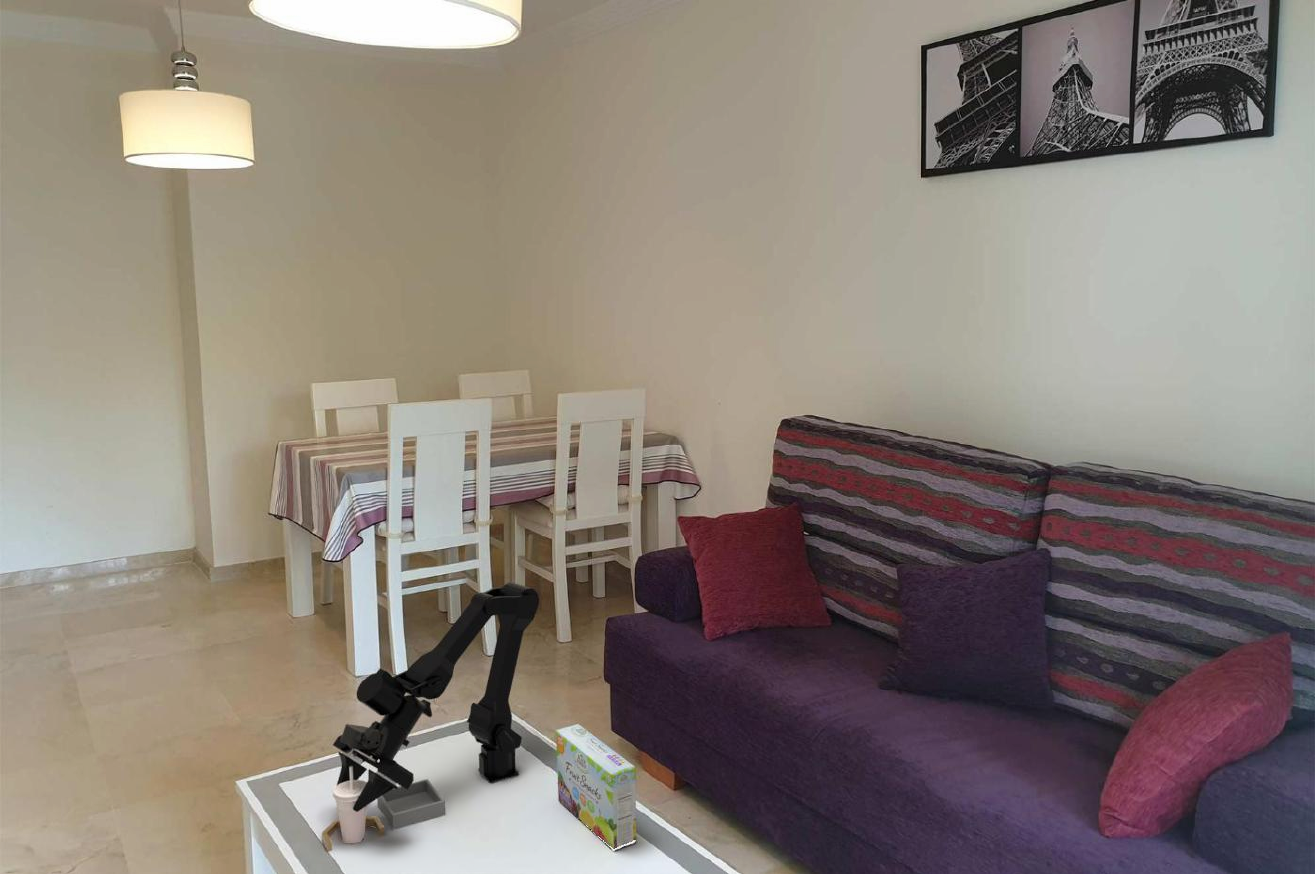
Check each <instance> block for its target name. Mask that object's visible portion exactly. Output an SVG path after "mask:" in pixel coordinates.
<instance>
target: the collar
mask: <svg viewBox="0 0 1315 874" xmlns="http://www.w3.org/2000/svg"><path fill="white" fill-rule="evenodd" d="M365 827H373V828H375V830H376V831H377V833H378V834H379V836H380V837H383V836H385V835H386V834H385V833H386V832H385V830H386V829H385V826H384V825H383V822H382V821H381V820H380V818H379V817H376V816H372V815H371V816H369V815H366V822H365ZM338 830H341V826H340V821H339V819H336V820H334V821H332V822H331V824H329V825H328V826H327V827H326V828H324V830H323V831H322V832H321V839H322V840H321V841H322V843H324V844H323V845H324V848H325V849H326V852H330V850H331V851H333V843H332V840H331V837H332V836H333V835H334V834H335V833H336V832H337V831H338Z"/></svg>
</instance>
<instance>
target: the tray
mask: <svg viewBox="0 0 1315 874" xmlns="http://www.w3.org/2000/svg"><path fill="white" fill-rule="evenodd" d="M397 787H398V788H397V789H392V790H390V791H389V792H387V793H385V794H384V795H382V796H380V797H379V798H377V799H376V800H377V803H376V804H377V807H378V809H379V810H380V812H381V814H382V815H383V816H384V818H385V819H386V821H387V823H388V824H389V825H390V827H391V829H392V830H397V829H400V828H404V827H408V826H411V825H415V824H418V823H421V822H425V821H429V820H433V819H436V818H440V817H443V816H446V812H447V811H446V800H445V799H444V798H443V797H442V795H441V794H440V793H439V791H437V789H436V787H434V786H433V784H432V783H431V782H430V780H429V779H428V778H426V779H422V780H419V781H418V780H417V781H415V782H414V781H413V782H412V784H411V786H410V787H409V789H408V790H407V789H405V788H404V787H402V786H400V785H399V786H397Z"/></svg>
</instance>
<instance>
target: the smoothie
mask: <svg viewBox="0 0 1315 874" xmlns="http://www.w3.org/2000/svg"><path fill="white" fill-rule="evenodd" d="M349 770H350V781H346V782H343V783H340V784H339V785H337V784H336V785H337V786H335V787H334V788H333V791H332V793H333V794H332V798H333V799H334V800H335V803H336V809H337V815H338V820H339V821H340V826H341V829H340V831H341V836H342V842H343V843H345V842H346V843H345V844H348V843H349V844H350V843H353V844H357V842H358V843H360V842H361V840H362V839H363V838H364V839H365V830H366V826H365V822H366V816H367V810H368V809H367V808H368V805H367V806H365V807H364V808H363V809H361V810H360V811H358V812H356V811H354V810H353V807H354V805H355V803H356V801H357V799H358V797H359V796H360V794H361V792H362V790H363V789H364V787H365V785H366V783H367V782H368V781H365V780H360V779H358V780H353V766H350V767H349ZM364 839H363V840H364ZM363 840H362V841H363ZM359 841H360V842H359Z"/></svg>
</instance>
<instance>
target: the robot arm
mask: <svg viewBox="0 0 1315 874" xmlns="http://www.w3.org/2000/svg"><path fill="white" fill-rule="evenodd" d="M539 605H540V595H539V593H538V592H537V591H536V590H535V589H534V588H531V587H529V586H525V585H522V584H519V583H515V582H513V581H511V582H508V583H505V584H504V585H503V586H501V587H500V586H499V587H493V588H490V589H488V590H486V591H483V592H477V593H475V594H474V595H473V596H472V597H471V599H470V603H469V604H468V606H466V608H465V609H464V611H463V612H462V613H461V614H460V616H459V617H458V619H457V620H456V621H455V622H454V623H453V624H452V626H451V627H450V628H449V630H448V631H447V632H446V634H445V635H444V636H443V638H442V639H441V640H440V641H439V642H438V643H437V645H436V646H435V647H434V648H432V650H430V651H427V652H426V653H424V654H422V655H421V656H420V657H419V658H417V659H416V661H414V662H413V663H412V664H411V665H410V666H409V667H408V668H407V670H404V671H402V672H400V673H398V674H395V676H392V675H391V673H390V672H388V670H385V669H383V668H378V670H377V671H376V673H372V674H370V675H368V676H367V677H366V678H365V679H363V680H362V681H361V682H360V684H359V685H358V687H357V690H356V699H357V700H358V701H359V702H360V703H362V704H363V705H365V706H366V707H367V708H368V709H370V710H372V711H373V712H374V713H376V714H378V715H379V716H383V717H382V718H381V720H380V721H377V720H375V721H373V722H371V725H370V726H369V727H367V726H363V725H356V724H348V723H346V724H345V726H344V729H343V731H342V732H343V733H342V734H340V735H338V737H337V738H336V739H335V741H334V742H333V744H332V746H334V747H335V748H336V749H338V750H340V751H338V756H339V757H340V761H341V768H340V772H339V775H338V780H337V783H336V786H337V785H339V784H340V783H343V782H346V781H350V770H349V767H350V766H353V780H360V777H362V776H363V775H364V773H365V772H367V771H368V772H367V773H368V777H367V781H366V782H367V783H366V785H365V787H364V789H363V790H362V792H361V794H360V796H359V797H358V799H357V801H356V803H355V805H354V807H353V810H354V811H356V812H358V811H360V810H361V809H363V808H364V807H365V806H367V807H368V805H370V804H372V803H373V802H374V801H376V800H377V798H379V797H380V796H382V795H384V794H385V793H387V792H389V791H390V790H392V789H397V788H398V787H399V786H402V787H404V788H405V789H407V790H408V789H409V787H410V786H411V784H412V783H414V781H415V780H414V779H415V778H414V773H413V772H412V771H410V770H408V769H406V767H404V766H402V765H400V763H397V760H394V758H395V757H396V756H397V754H398V752H399V751H400V749H401V747H402V746H404V747H406V748H407V747H408V745H409V744H410V741H409V740H408V739H407V738H408V736H409V735H410V733H411V732H412V730H413V728H414V727H415V726H416V724H417V723H418V721H419V719H420V718H421V716H422V715H424V716H426V717H428V718H432V717H433V713H432V708H431V702H430V701H429V700H434V699H439V698H440V697H442V695H443V693H445V691H446V689H447V687H448V685H449V684H450V682H451V680H452V679H453V676H454V675H453V674H454V669H455V666H456V664H457V662H458V661H459V660H460V658H461V656H463V654H464V652H466V650H467V649H468V647H470V646H471V644H472V642H473V641H474V640H475V638H477V636H478V635H479V634H480V632H481V630H483V628H484V627H485V625H486V624H487V623H488V622H489V620H490V619H491V618H492V617H493V616H497V618H498V622H499V623H498V624H499V628H498V629H499V630H498V633H497V637H496V642H495V646H494V651H493V655H492V659H491V664H490V670H489V675H488V679H487V682H486V687H485V691H484V695H483V697H482V698H481V699H480V700H479V701H478V702H472V703H471V705H470V711H469V712H470V713H469V716H468V718H467V720H466V723H468V731H469V733H470V734H471V736H473V737H474V739H475V741H476V743H478V744H479V743H480V744H481V745H480V752H479V754H478V769H477V770H478V772H479V774H481V775H482V777H484V778H485V780H486V781H488V783H495V782H498V781H502V780H507V779H509V778H514V777H517V776H519V775H520V772H519V771H518V770H517V769H516V750H517V749H518V748H520V747H521V743H522V739H523V737H522V736H521V735H520V734H519V733H517V732H516V731H514V730H513V729H512V724H513V723H512V720H513V714H512V710H511V706H510V703H509V702H510V701H509V699H510V695H511V691H512V686H513V681H514V677H515V671H516V667H517V663H518V658H519V653H520V650H521V649H520V648H521V646H522V645H521V644H522V641H523V637H524V631H526V629H527V628H528V627H529V626H530V624H531V623H532V622H533V621H534V619H535V616H536V613H537V611H538V608H539ZM406 694H407V695H406ZM420 698H424V699H421V700H420ZM363 763H366V764H369V765H371V766H372V767H373V768H375V769H377V771H376V772H375V771H373V770H371V769H367V768H366V767H365V766H363V765H362V764H363ZM397 785H399V786H397ZM336 786H335V787H336Z"/></svg>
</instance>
